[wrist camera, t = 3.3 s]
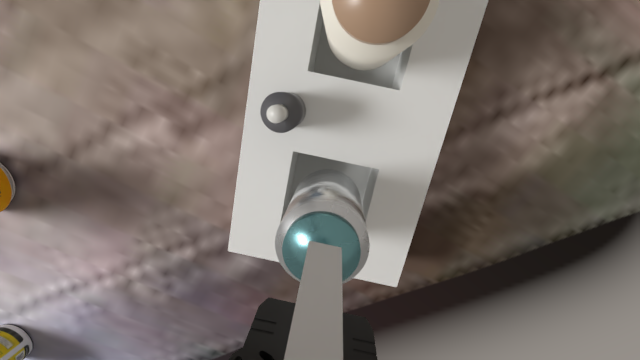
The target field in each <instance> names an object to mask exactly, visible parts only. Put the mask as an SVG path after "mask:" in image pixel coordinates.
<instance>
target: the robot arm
mask: <svg viewBox="0 0 640 360" xmlns="http://www.w3.org/2000/svg"><path fill="white" fill-rule="evenodd" d="M229 360H377V356H376V347H375V340H374V334H373V329H372V327H371V326H370V324H369V322H368V321H367V319H366V318H365V317H360V316H356V315H351V314H347V313H343V308H342V248H341V247H337V246H332V245H327V244H323V243H318V242H313V241H309V244H308V248H307V253H306V258H305V262H304V267H303V272H302V277H301V281H300V286H299V291H298V295H297V300H296V303H291V302H286V301H282V300H277V299H273V298H268V299H266V300H265V301H264V302H263V303H262V304H261V305H260V306H259V307H258V310H257V313H256V315H255V318H254V320H253V323H252V326H251V329H250V331H249V333H248V336H247V339H246V341H245V344H244V346H243V348H241V349H239V350H238V351H236V352H235V353H233V354H232V356H231V357H230V358H229Z"/></svg>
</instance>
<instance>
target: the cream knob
mask: <svg viewBox="0 0 640 360" xmlns="http://www.w3.org/2000/svg"><path fill="white" fill-rule="evenodd" d="M438 5H439V0H320V6H321V11H322V16H323V20H324V25H325V30H326V34H327V39H328V43H329V46H330V48H331V50H332V52H333V54H334V55H335V57H336V58H337V59H338V60H339V61H340V62H341V63H343V64H344V65H346V66H347V67H350V68H352V69H356V70H372V69H376V68H378V67H381V66H382V65H384V64H386V63H387V62H388V61H390V60H391V59H393V58H394V57H396V56H397V55H398V54H400V53H401V52H403V51H404V50H405V49H407V48H408V47H410V46H411V45H412V44H413V43H415V42H416V41H417V40H418V39H419V38H420V37H421V36H422V35H423V34H424V32H425V31H426V30H427V28H428V27H429V25H430V24H431V22H432V20H433V18H434V16H435V14H436V11H437V8H438Z"/></svg>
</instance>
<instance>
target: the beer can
mask: <svg viewBox="0 0 640 360" xmlns="http://www.w3.org/2000/svg"><path fill="white" fill-rule="evenodd" d="M14 195H15V182H14V179H13V177H12V175H11V174H10V172H9V171H8V170H7V168H6V167H5V166H4V165H2V164H1V163H0V212H1V211H3V210H4V209H6V208H7V207H8V205H9V203H10V201H11V200H12V199H13V197H14Z"/></svg>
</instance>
